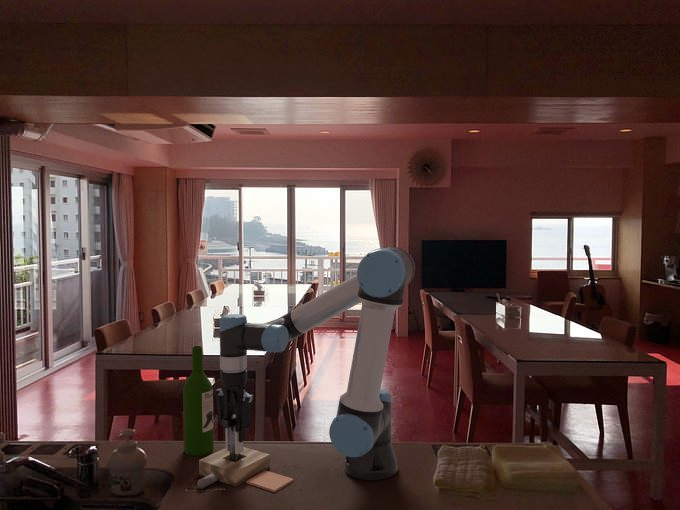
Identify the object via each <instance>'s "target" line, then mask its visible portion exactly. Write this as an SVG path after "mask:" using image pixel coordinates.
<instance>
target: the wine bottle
mask: <svg viewBox="0 0 680 510" xmlns="http://www.w3.org/2000/svg"><path fill="white" fill-rule="evenodd" d="M191 349H192V353H191V355H192V357H191V360H192V361H191V363H192V364H191V365H192V367H191V368H192V369H191V370H192V371H191V373H190V374H189V376H188V378H187V379H186V380H185V381H186V382H185V383H184V385H183V388H182V401H183V403H182V406H183V410H182V412H183V413H182V414H183V417H182V419H183V451H184V454H186V455H187V456H193V457H197V456H198V457H200V456H205V455H208V454H210V453H211V452H213V450H214V398H213V397H214V394H213V393H214V389H213V385H212V382H211V381H210V379H209V378H208V376H207V374H205V372H204V368H203V367H204V365H203V364H204V363H203V346H201V345H196V346H192V347H191Z"/></svg>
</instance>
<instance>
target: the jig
mask: <svg viewBox="0 0 680 510" xmlns="http://www.w3.org/2000/svg"><path fill="white" fill-rule="evenodd" d="M270 457H271V455H270V453H266V452H263V451H259V450H255V449H252V448H250V447H249V448H248V447H245V446H244V451H243V452H241V453H240V460H239V461H237V462H232V461H229V451H226V447H225V448H223V449H220V450H219V451H215V452H214V453H212V454H210V455H208V456H206V457H203V458H201V459H199V460H198V474H199V475H200V476H204V477H202V478H200V479H198V480H197V486H198V487H197V488H199V489H201V490H202V489H205V488H206V487H209V486H210V485H213V484H214V483H217V482H218V481H219V482H222V483H224V484H227V485H230V486H233V487H238V486H240V485H241V484H243V483H246V481H247V480H249V479H251V478H253V477H255V476H256V475H258V474H260V473H262V472H264V471H265V470H266V471H268V470H269V469H270V468H271V467H270V466H271V463H270V462H271V461H270V460H271V458H270ZM268 468H269V469H268Z"/></svg>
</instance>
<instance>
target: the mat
mask: <svg viewBox="0 0 680 510" xmlns="http://www.w3.org/2000/svg"><path fill="white" fill-rule="evenodd" d="M293 482H294V478H291V477H290V476H285V475H282V474H278V473H275V472H272V471H270V470H269V471H268V470H265V471H263V472H261V473H260V474H258V475H256V476H254V477H252V478H250V479H249V480H247V481H245V483H246V484H248V485H250V486H254V487H257V488H260V489H264V490H266V491H268V492H272V493H277V492H278V491H280V490H281V489H283V488H285V487H286V486H288V485H289V484H291V483H293Z"/></svg>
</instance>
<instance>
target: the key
mask: <svg viewBox="0 0 680 510" xmlns="http://www.w3.org/2000/svg"><path fill="white" fill-rule="evenodd" d="M221 427H223V428H224V427H226V428H229V461H232V462H237V461H239V460H240V453H239V454H235V430H237V425H236V416H235V413H233V415H231V416H229V417H226V418H224V419H223V418H222V424H221Z"/></svg>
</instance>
